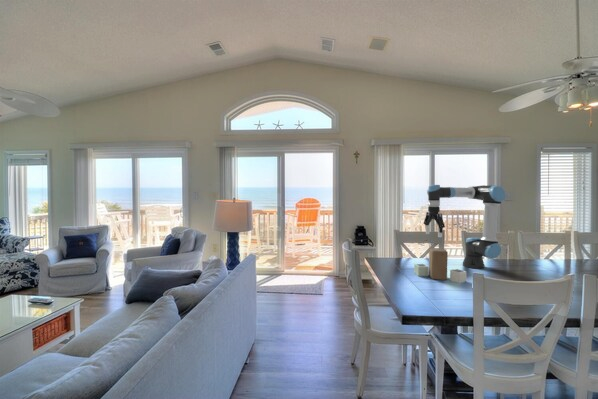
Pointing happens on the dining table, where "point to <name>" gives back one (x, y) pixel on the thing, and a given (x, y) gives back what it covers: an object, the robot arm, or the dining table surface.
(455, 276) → the cream labelled cube
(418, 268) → the sage labelled cube
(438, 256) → the wooden block
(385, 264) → the dining table surface
